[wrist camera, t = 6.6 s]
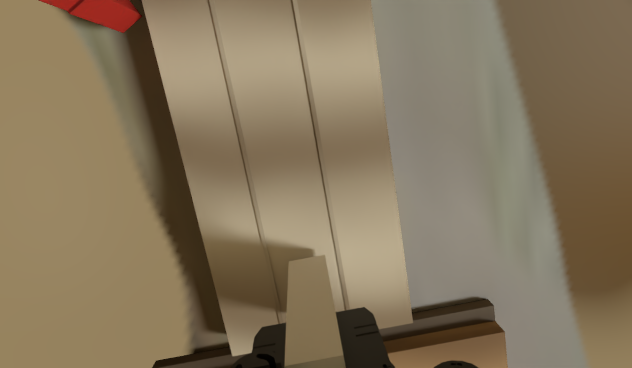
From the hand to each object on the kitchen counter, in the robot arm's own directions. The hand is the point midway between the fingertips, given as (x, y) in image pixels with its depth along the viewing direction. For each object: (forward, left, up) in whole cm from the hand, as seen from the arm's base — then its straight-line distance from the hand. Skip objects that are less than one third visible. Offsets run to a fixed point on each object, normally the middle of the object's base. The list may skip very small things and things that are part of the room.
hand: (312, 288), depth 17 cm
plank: (-6, 0, -2) cm, 7 cm away
